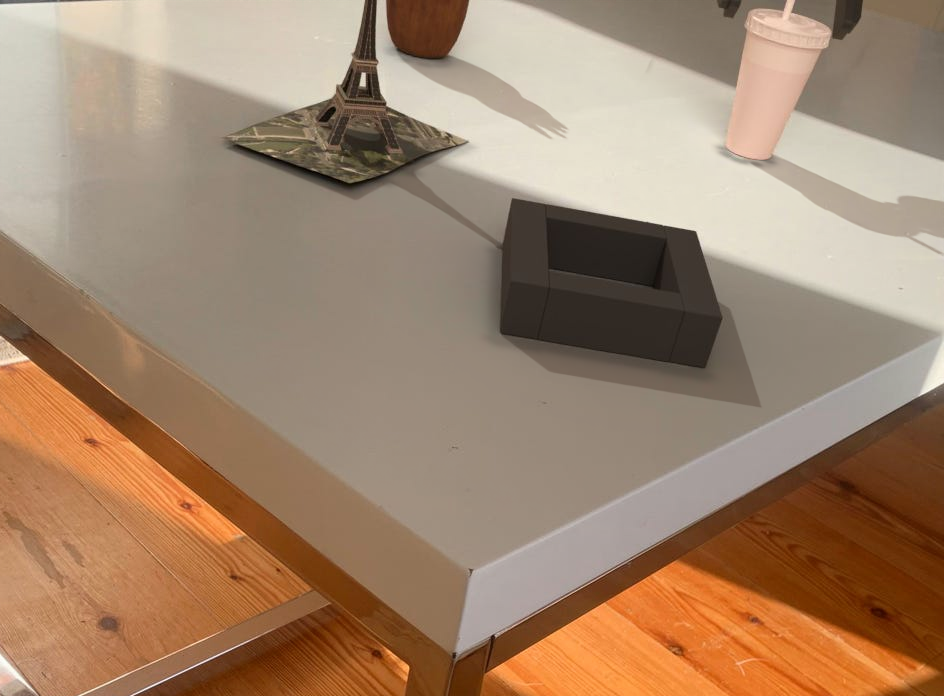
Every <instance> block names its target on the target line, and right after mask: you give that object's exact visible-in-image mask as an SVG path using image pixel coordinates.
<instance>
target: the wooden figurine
mask: <svg viewBox="0 0 944 696" xmlns="http://www.w3.org/2000/svg"><path fill="white" fill-rule="evenodd" d="M469 5H470V0H385V11H386V22H387V30H388V33H389V37H390V40H391V42H392V44H393V46H394V47H396V48H397V49H398V50H400V51H402V52H403V53H406V54H408V55H411V56H413V57H417V58H423V59H439V58H442V57H443V58H444V57H446V56H447V55H448V54H449V53H450V52H451V51H452V50H453V48H454V46H455V45H456V43H457V42H458V39H459V37H460V34H461V32H462V30H463V27H464V23H465V21H466V17H467V13H468V9H469Z"/></svg>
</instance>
